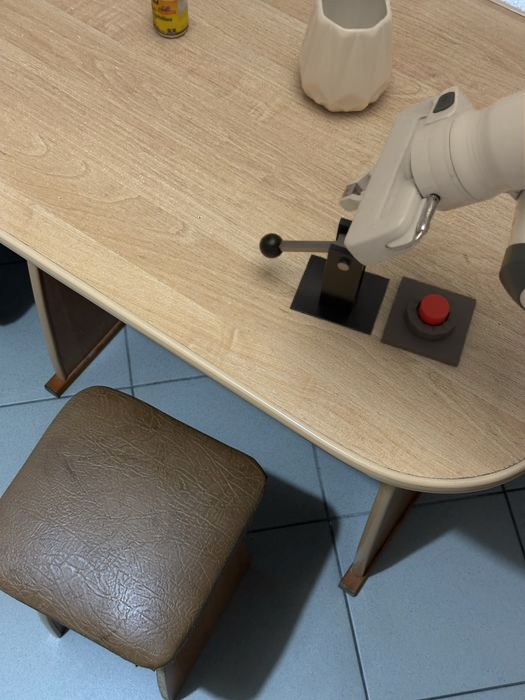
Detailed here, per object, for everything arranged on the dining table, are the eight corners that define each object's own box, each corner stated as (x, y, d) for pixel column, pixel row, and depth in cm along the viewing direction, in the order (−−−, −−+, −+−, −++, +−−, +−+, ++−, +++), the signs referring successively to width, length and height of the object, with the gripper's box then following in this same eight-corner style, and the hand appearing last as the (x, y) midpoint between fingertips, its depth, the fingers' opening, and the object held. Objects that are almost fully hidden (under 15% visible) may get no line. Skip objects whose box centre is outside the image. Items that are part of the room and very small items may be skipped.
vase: (393, 120, 125) (412, 41, 112) (299, 123, 125) (307, 43, 111) (381, 52, 132) (398, -31, 118) (292, 54, 131) (298, -29, 117)
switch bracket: (289, 312, 110) (296, 254, 97) (310, 259, 114) (320, 196, 101) (369, 339, 108) (386, 283, 96) (388, 283, 112) (407, 223, 100)
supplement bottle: (146, 29, 132) (140, -26, 123) (168, 9, 134) (164, -47, 125) (174, 44, 131) (169, -10, 122) (196, 25, 133) (193, -31, 124)
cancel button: (449, 305, 107) (452, 298, 105) (442, 329, 105) (445, 322, 104) (422, 297, 107) (425, 290, 106) (415, 320, 106) (417, 313, 104)
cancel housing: (472, 307, 111) (480, 292, 107) (454, 371, 107) (462, 357, 103) (400, 284, 112) (405, 268, 109) (379, 346, 108) (384, 331, 104)
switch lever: (261, 263, 107) (251, 247, 105) (270, 243, 109) (260, 227, 106) (361, 266, 100) (353, 249, 98) (369, 245, 101) (361, 228, 99)
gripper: (439, 264, 80) (333, 287, 90) (490, 117, 89) (388, 153, 100) (403, 221, 77) (297, 251, 87) (459, 73, 86) (357, 115, 96)
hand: (346, 197), depth 93 cm, fingers closed
